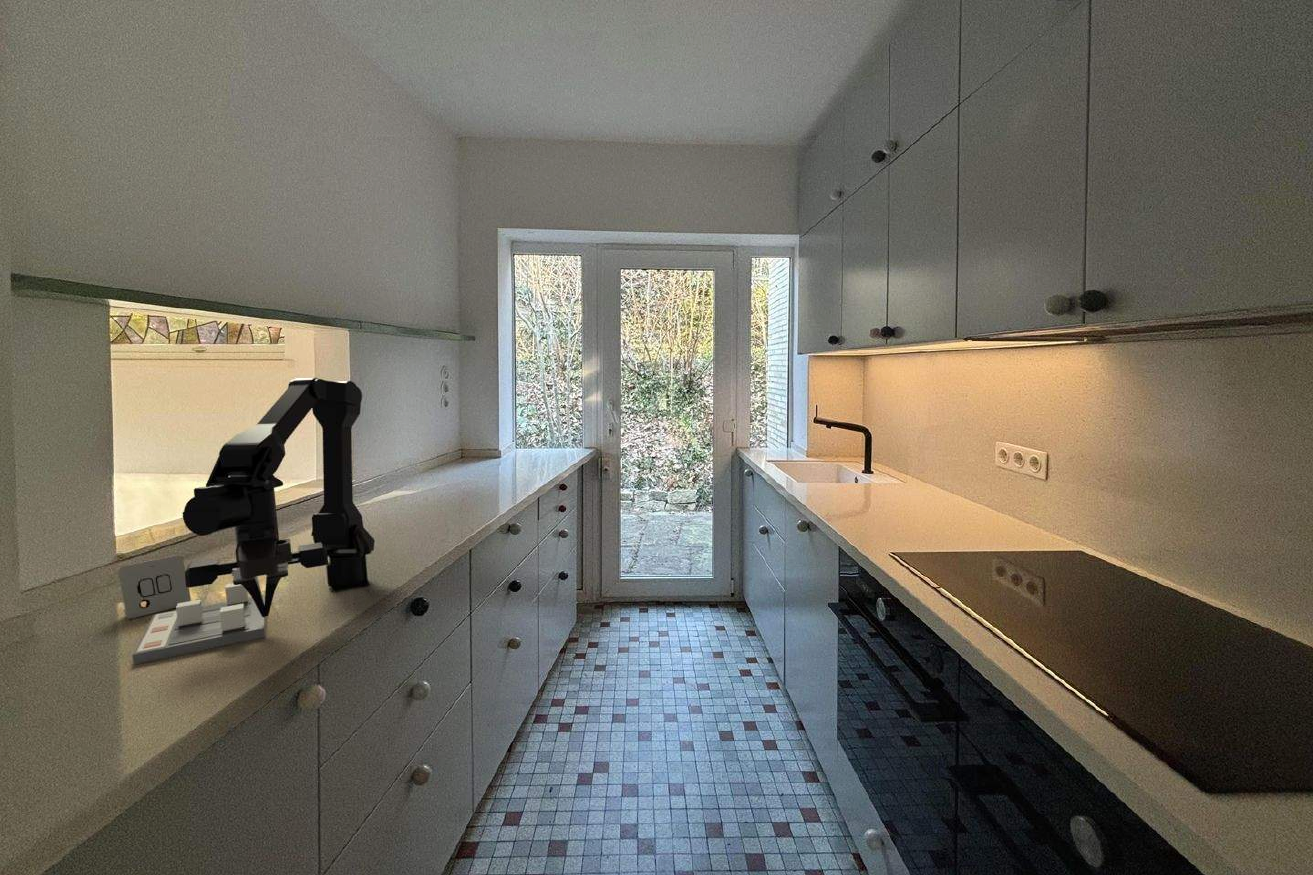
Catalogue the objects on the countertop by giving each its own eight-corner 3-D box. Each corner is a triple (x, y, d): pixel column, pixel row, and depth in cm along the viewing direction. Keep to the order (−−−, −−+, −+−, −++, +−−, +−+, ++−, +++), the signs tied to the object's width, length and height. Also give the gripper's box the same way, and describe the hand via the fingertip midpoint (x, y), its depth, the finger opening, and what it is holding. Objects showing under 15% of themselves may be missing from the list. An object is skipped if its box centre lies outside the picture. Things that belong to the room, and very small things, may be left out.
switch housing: (265, 602, 114) (264, 593, 114) (265, 637, 98) (263, 626, 98) (154, 623, 106) (153, 613, 106) (133, 664, 90) (132, 653, 90)
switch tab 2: (248, 597, 112) (246, 580, 112) (247, 601, 110) (246, 584, 110) (227, 600, 110) (226, 584, 110) (227, 604, 108) (225, 587, 108)
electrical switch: (126, 621, 108) (119, 567, 107) (119, 617, 111) (112, 565, 111) (192, 605, 115) (185, 554, 115) (184, 602, 118) (177, 553, 118)
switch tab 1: (202, 617, 103) (200, 599, 103) (201, 621, 101) (199, 603, 100) (180, 621, 101) (177, 603, 101) (178, 626, 99) (176, 607, 99)
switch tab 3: (245, 621, 100) (243, 603, 100) (245, 626, 98) (243, 607, 98) (222, 626, 98) (220, 607, 98) (221, 631, 96) (219, 612, 96)
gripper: (175, 539, 87) (187, 648, 89) (326, 519, 97) (335, 617, 98) (184, 525, 97) (195, 623, 98) (321, 508, 106) (329, 598, 108)
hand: (265, 616), depth 100 cm, fingers closed
